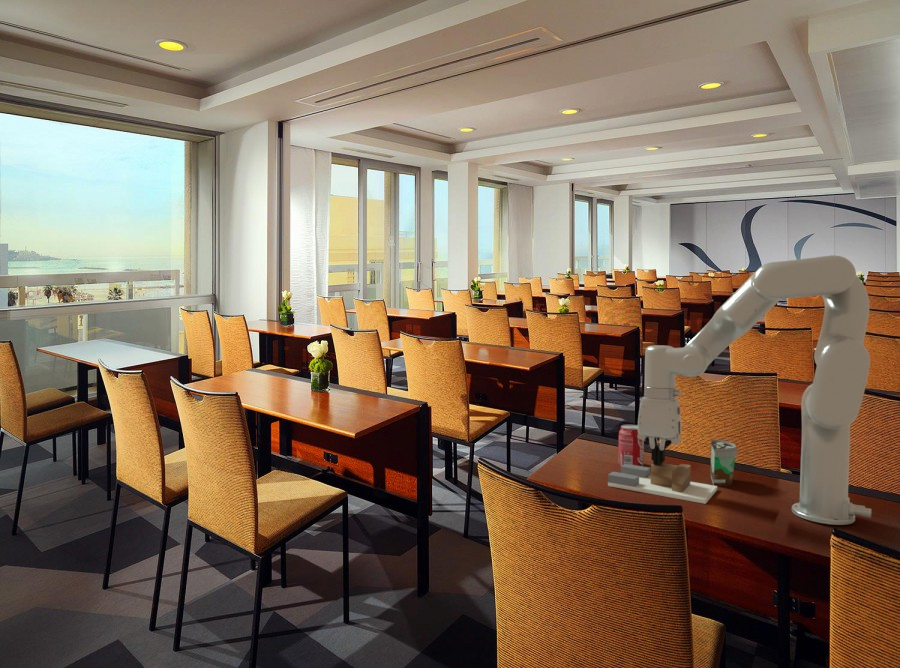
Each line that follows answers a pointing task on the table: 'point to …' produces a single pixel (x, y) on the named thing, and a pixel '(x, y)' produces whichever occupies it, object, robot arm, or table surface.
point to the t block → (671, 476)
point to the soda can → (630, 446)
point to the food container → (722, 462)
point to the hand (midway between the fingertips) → (658, 463)
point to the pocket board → (641, 482)
